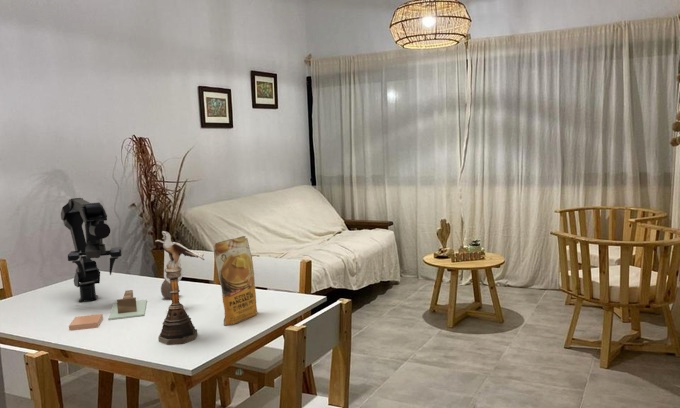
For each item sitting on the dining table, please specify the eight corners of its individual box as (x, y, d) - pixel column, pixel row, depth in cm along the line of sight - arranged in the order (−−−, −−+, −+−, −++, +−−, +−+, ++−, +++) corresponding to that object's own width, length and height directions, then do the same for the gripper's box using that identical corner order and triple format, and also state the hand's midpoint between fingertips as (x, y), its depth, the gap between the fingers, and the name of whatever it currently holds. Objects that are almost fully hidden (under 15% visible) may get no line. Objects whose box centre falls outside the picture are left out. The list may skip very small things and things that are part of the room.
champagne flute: (180, 312, 202) (175, 247, 199) (163, 312, 203) (158, 247, 201) (188, 307, 209) (184, 244, 206) (172, 306, 210) (167, 244, 207)
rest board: (114, 304, 216) (114, 303, 216) (146, 301, 219) (146, 299, 219) (108, 320, 197) (108, 318, 197) (144, 315, 200) (144, 314, 200)
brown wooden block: (121, 303, 215) (120, 291, 214) (138, 301, 216) (137, 289, 216) (118, 313, 202) (116, 300, 201) (136, 311, 204) (135, 298, 203)
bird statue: (191, 324, 189) (183, 222, 185) (216, 331, 181) (209, 224, 177) (148, 339, 176) (139, 229, 172) (173, 347, 168) (164, 232, 164)
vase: (161, 301, 218) (159, 279, 217) (161, 296, 225) (160, 275, 224) (179, 299, 220) (177, 277, 219) (179, 294, 227) (178, 273, 226)
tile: (75, 316, 197) (68, 325, 187) (102, 313, 199) (97, 322, 189) (76, 322, 197) (69, 332, 187) (103, 319, 199) (98, 328, 189)
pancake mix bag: (211, 325, 187) (206, 243, 184) (250, 309, 203) (246, 234, 199) (226, 328, 183) (220, 244, 180) (264, 312, 199) (260, 235, 196)
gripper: (63, 241, 201) (67, 283, 203) (118, 237, 206) (121, 278, 208) (68, 236, 212) (72, 276, 213) (120, 232, 217) (124, 271, 219)
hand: (97, 276), depth 213 cm, fingers open, 9 cm apart
